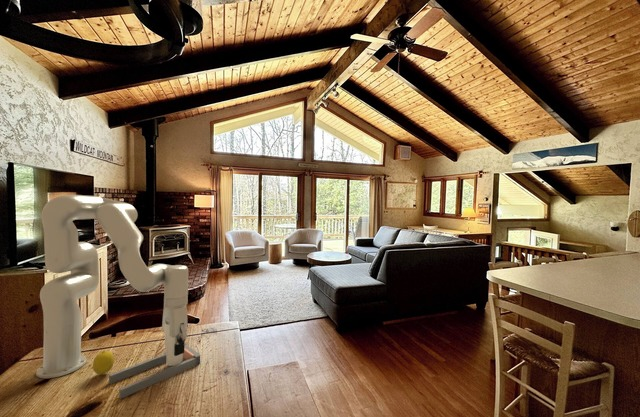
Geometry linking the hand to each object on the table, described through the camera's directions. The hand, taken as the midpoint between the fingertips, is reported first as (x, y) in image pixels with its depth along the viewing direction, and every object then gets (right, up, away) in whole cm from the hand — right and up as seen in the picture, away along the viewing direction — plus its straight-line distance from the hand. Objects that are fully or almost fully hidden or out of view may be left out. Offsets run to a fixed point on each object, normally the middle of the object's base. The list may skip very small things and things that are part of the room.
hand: (174, 350), depth 98 cm
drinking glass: (0, -5, 0) cm, 5 cm away
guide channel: (-4, -5, -5) cm, 8 cm away
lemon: (-21, -5, -6) cm, 22 cm away
